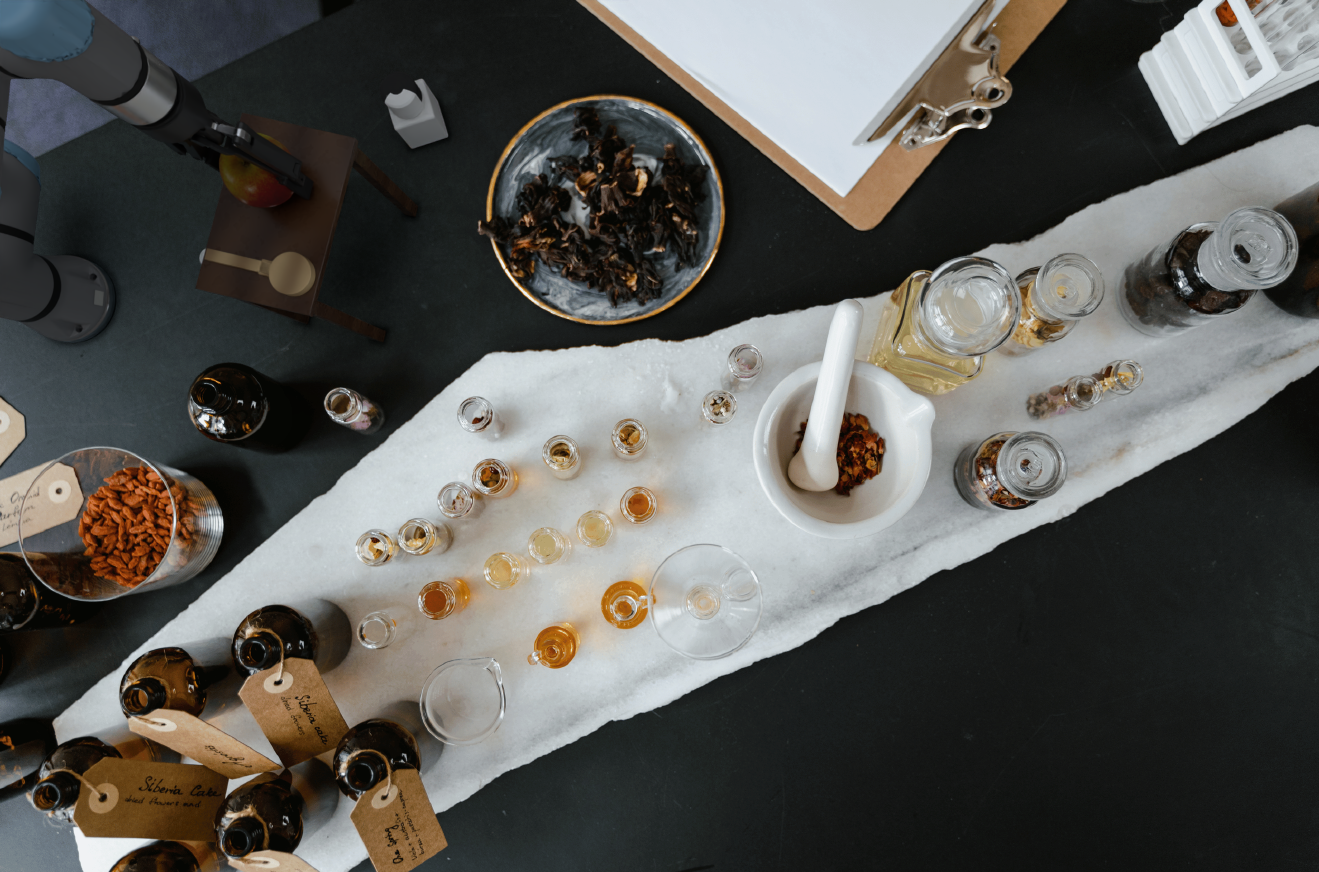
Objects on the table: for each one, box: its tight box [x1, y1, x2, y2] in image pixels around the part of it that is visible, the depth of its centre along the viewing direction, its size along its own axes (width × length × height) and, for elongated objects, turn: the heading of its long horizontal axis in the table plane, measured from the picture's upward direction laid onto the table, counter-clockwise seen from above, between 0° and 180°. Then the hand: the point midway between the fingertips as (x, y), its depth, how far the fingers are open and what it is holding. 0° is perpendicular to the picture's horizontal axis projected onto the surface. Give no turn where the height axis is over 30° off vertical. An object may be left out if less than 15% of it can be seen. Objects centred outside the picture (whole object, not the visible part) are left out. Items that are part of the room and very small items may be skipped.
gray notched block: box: [379, 71, 449, 150], centre depth 112 cm, size 7×7×12 cm
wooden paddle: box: [205, 248, 315, 297], centre depth 93 cm, size 16×6×1 cm, turn 76°
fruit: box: [219, 133, 294, 208], centre depth 89 cm, size 10×9×8 cm
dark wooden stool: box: [194, 112, 419, 343], centre depth 106 cm, size 17×26×24 cm, turn 166°
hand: (275, 182), depth 93 cm, fingers closed on fruit, 9 cm apart
